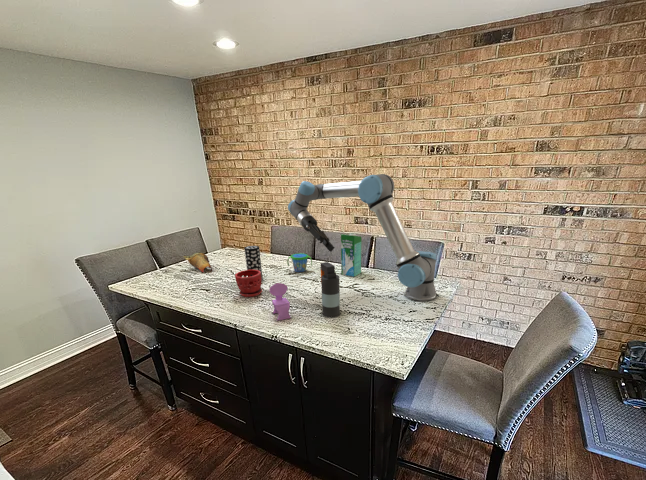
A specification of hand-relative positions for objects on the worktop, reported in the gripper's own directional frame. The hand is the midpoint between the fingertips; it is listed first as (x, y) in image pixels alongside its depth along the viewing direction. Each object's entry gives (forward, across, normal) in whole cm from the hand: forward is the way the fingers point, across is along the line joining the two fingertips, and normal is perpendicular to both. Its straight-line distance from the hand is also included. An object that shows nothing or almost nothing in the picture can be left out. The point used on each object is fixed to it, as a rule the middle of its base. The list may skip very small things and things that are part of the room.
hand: (331, 249), depth 162 cm
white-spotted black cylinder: (-34, -6, -50) cm, 61 cm away
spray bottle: (+23, +1, -21) cm, 31 cm away
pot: (-74, +1, -76) cm, 106 cm away
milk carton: (-11, -45, -14) cm, 49 cm away
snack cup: (-34, -32, -35) cm, 58 cm away
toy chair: (+13, +16, -34) cm, 40 cm away
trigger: (+13, +5, -12) cm, 18 cm away
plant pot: (-18, +8, -48) cm, 52 cm away
